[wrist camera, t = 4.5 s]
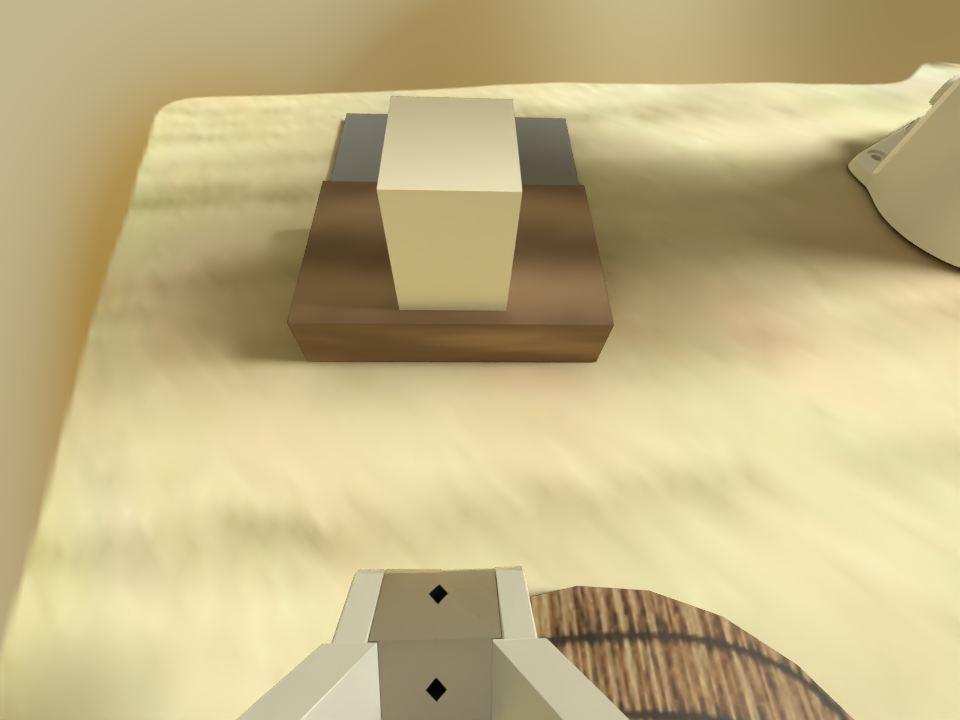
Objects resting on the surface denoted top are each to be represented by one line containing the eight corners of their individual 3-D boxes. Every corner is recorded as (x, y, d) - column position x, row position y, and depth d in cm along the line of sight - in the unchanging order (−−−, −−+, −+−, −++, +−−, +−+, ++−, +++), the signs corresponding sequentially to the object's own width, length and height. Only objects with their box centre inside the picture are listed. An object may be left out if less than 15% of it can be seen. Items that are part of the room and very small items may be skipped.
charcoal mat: (348, 119, 42) (346, 113, 41) (563, 124, 42) (565, 118, 42) (323, 225, 34) (321, 219, 34) (584, 229, 35) (586, 223, 35)
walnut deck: (336, 226, 34) (322, 180, 31) (572, 229, 35) (584, 185, 32) (308, 361, 28) (286, 323, 25) (595, 362, 29) (613, 324, 25)
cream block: (407, 223, 29) (390, 96, 22) (500, 224, 29) (512, 99, 22) (399, 309, 25) (376, 189, 19) (506, 310, 26) (522, 192, 19)
